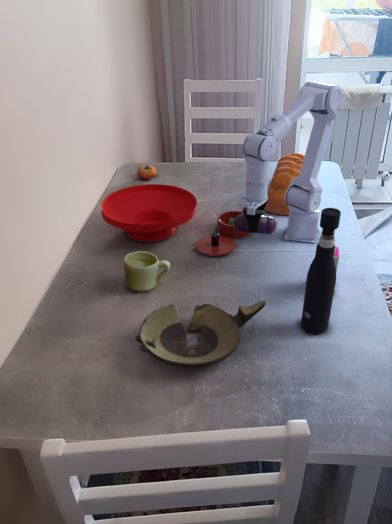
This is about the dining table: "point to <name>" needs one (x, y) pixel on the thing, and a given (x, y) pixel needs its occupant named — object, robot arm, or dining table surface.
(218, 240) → the pot lid
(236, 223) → the eggplant
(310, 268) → the black bottle
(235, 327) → the olive round shallow dish
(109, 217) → the bowl
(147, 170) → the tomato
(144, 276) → the mug
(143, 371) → the dining table surface
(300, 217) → the robot arm
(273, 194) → the bread
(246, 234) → the pot
